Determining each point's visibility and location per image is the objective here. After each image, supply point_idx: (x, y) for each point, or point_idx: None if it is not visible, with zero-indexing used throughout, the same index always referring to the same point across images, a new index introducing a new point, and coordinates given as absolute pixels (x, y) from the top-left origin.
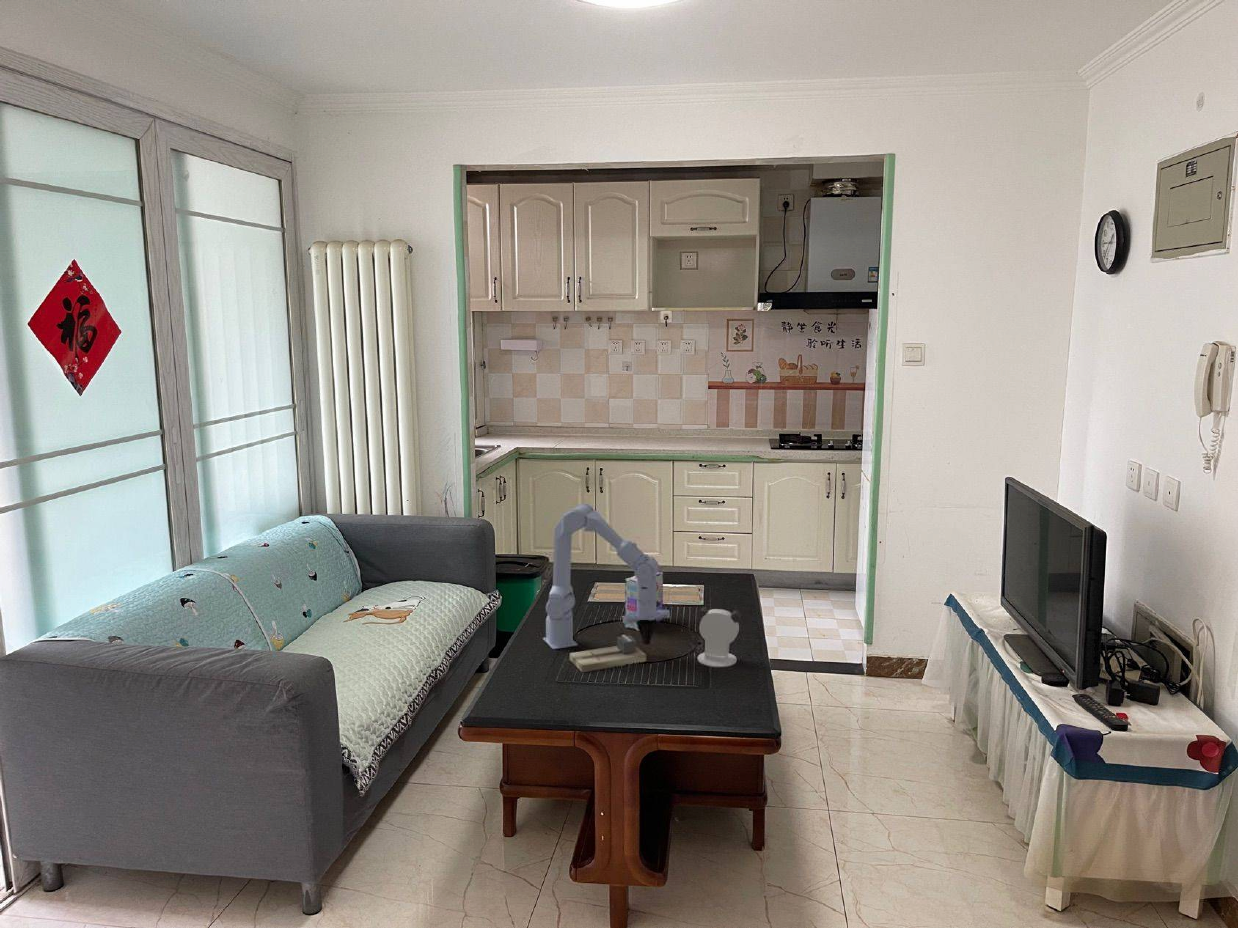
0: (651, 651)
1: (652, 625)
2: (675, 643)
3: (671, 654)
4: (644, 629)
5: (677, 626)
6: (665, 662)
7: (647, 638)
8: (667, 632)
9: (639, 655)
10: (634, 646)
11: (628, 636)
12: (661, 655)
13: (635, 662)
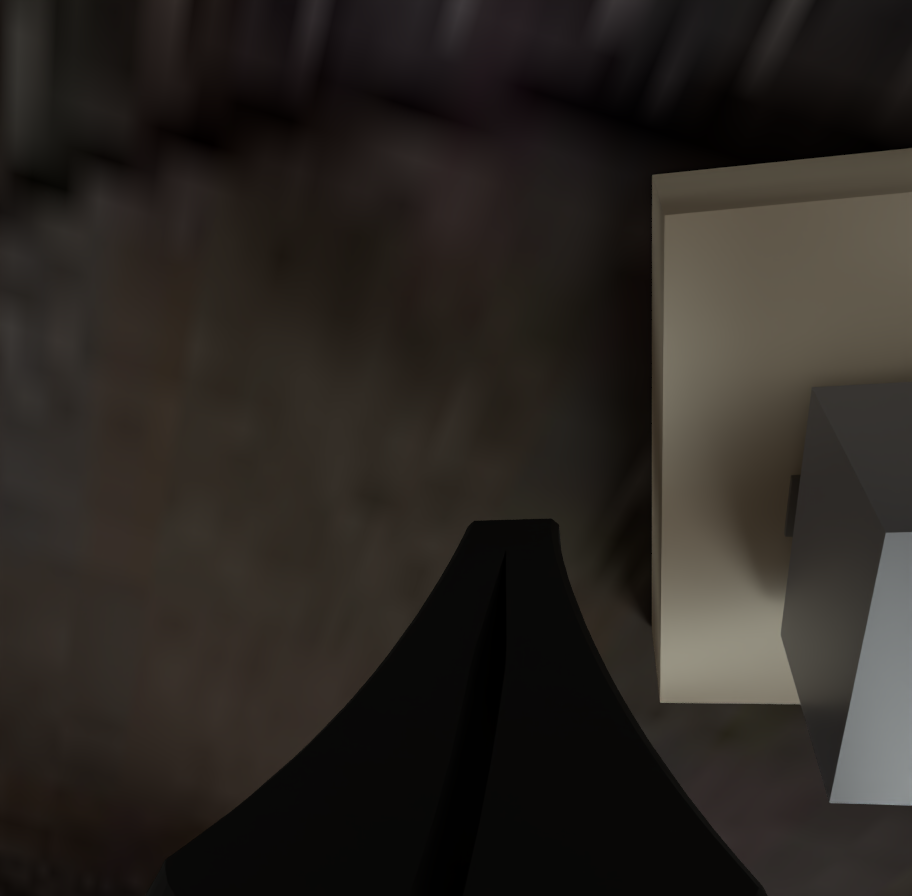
0: (418, 505)
1: (348, 870)
2: (64, 611)
3: (151, 326)
4: (648, 793)
5: (24, 875)
6: (314, 7)
7: (520, 592)
8: (126, 823)
9: (821, 225)
10: (894, 447)
11: (891, 765)
12: (312, 337)
13: (897, 152)
